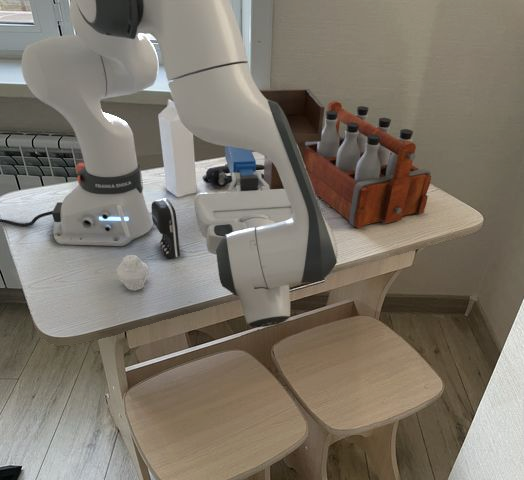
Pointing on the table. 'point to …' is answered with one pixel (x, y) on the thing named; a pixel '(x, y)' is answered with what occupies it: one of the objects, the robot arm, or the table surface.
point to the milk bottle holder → (366, 169)
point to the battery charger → (166, 227)
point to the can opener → (222, 175)
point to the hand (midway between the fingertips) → (245, 173)
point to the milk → (177, 153)
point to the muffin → (132, 272)
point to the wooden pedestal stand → (295, 123)
